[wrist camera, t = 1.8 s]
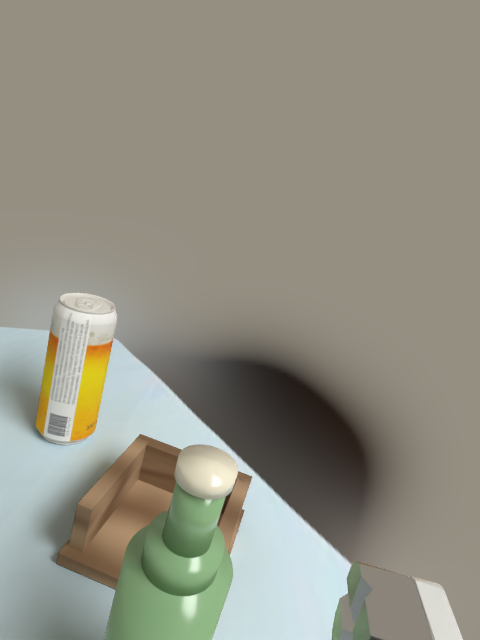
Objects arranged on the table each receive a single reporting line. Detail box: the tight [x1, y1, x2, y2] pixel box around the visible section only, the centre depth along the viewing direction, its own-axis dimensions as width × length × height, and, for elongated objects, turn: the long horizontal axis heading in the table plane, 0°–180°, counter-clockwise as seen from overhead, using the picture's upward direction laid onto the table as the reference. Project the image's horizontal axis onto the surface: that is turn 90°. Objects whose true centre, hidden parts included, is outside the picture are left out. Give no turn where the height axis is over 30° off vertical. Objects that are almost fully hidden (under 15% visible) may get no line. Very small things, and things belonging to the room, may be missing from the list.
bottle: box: [104, 445, 238, 640], centre depth 23 cm, size 5×5×18 cm
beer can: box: [36, 293, 117, 445], centre depth 47 cm, size 6×6×15 cm
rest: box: [56, 434, 252, 589], centre depth 38 cm, size 12×12×5 cm
